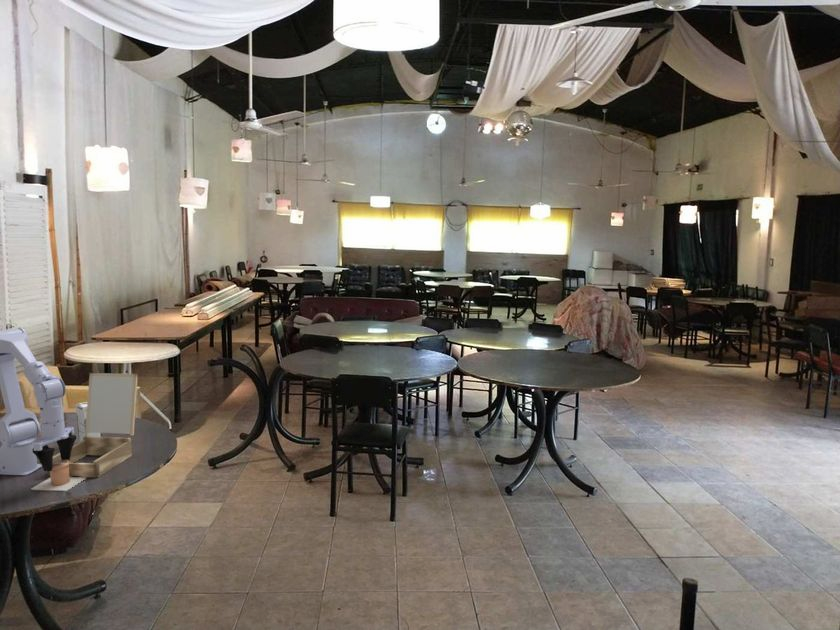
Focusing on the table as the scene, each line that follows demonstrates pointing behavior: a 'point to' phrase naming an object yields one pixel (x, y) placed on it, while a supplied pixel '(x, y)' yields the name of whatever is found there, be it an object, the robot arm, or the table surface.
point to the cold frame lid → (111, 403)
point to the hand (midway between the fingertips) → (57, 465)
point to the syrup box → (83, 421)
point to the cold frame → (109, 447)
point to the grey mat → (48, 487)
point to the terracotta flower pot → (60, 473)
